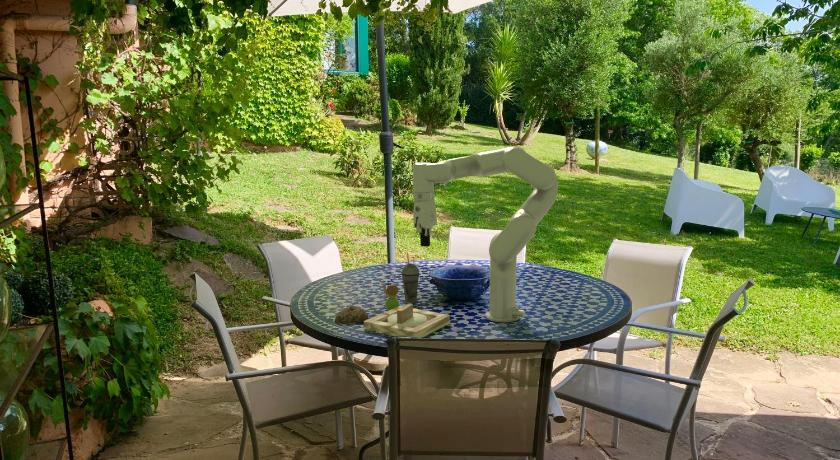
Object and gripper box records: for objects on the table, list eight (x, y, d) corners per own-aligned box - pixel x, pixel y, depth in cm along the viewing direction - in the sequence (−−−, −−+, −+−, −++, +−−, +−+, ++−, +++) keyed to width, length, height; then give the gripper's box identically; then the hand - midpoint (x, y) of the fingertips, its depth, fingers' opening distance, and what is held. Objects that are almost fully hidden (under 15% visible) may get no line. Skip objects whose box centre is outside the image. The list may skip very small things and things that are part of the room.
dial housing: (449, 323, 236) (449, 314, 235) (415, 340, 218) (415, 331, 217) (400, 313, 248) (399, 305, 247) (363, 329, 230) (363, 320, 229)
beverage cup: (417, 304, 260) (417, 254, 257) (400, 303, 262) (399, 254, 258) (421, 299, 267) (421, 251, 264) (404, 298, 269) (403, 250, 265)
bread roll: (368, 324, 237) (368, 311, 236) (333, 325, 236) (333, 312, 235) (368, 313, 249) (368, 301, 248) (335, 314, 248) (335, 302, 248)
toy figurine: (383, 308, 254) (382, 278, 252) (399, 308, 254) (399, 278, 252) (381, 313, 249) (381, 282, 247) (398, 313, 249) (398, 282, 247)
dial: (398, 315, 242) (397, 298, 241) (433, 319, 236) (433, 302, 235) (380, 326, 229) (380, 308, 228) (417, 331, 224) (417, 312, 223)
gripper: (422, 199, 231) (424, 250, 234) (442, 194, 243) (443, 243, 247) (404, 198, 234) (406, 249, 237) (424, 194, 247) (426, 241, 250)
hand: (425, 245), depth 242 cm, fingers closed
